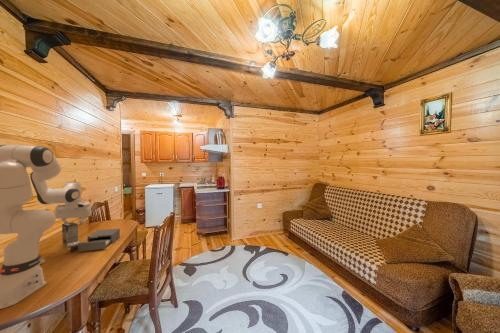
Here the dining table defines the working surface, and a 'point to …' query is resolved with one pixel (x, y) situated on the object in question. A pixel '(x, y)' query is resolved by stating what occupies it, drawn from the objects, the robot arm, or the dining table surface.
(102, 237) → the housing
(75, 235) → the coffee box
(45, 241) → the dining table surface
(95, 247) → the tray
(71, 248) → the grey rounded piece
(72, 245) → the disc
